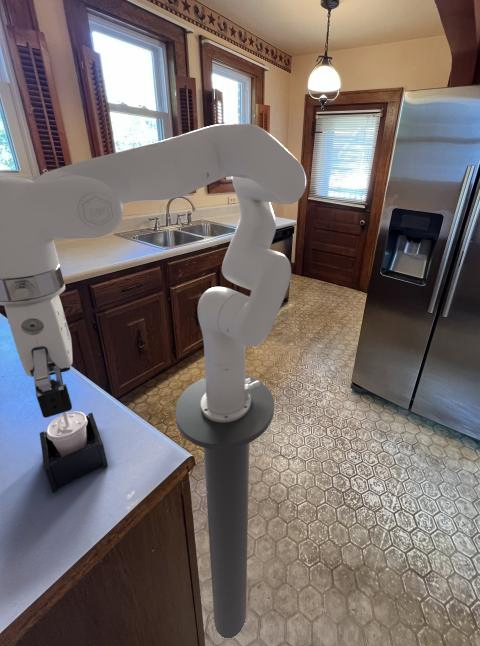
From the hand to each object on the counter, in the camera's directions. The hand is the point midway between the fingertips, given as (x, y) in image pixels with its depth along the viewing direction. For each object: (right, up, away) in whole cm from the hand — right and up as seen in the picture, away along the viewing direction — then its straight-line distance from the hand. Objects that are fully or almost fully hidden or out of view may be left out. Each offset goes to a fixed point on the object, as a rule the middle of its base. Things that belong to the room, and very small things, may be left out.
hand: (58, 390), depth 45 cm
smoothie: (-8, -19, +16) cm, 26 cm away
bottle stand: (-8, -19, +16) cm, 26 cm away
